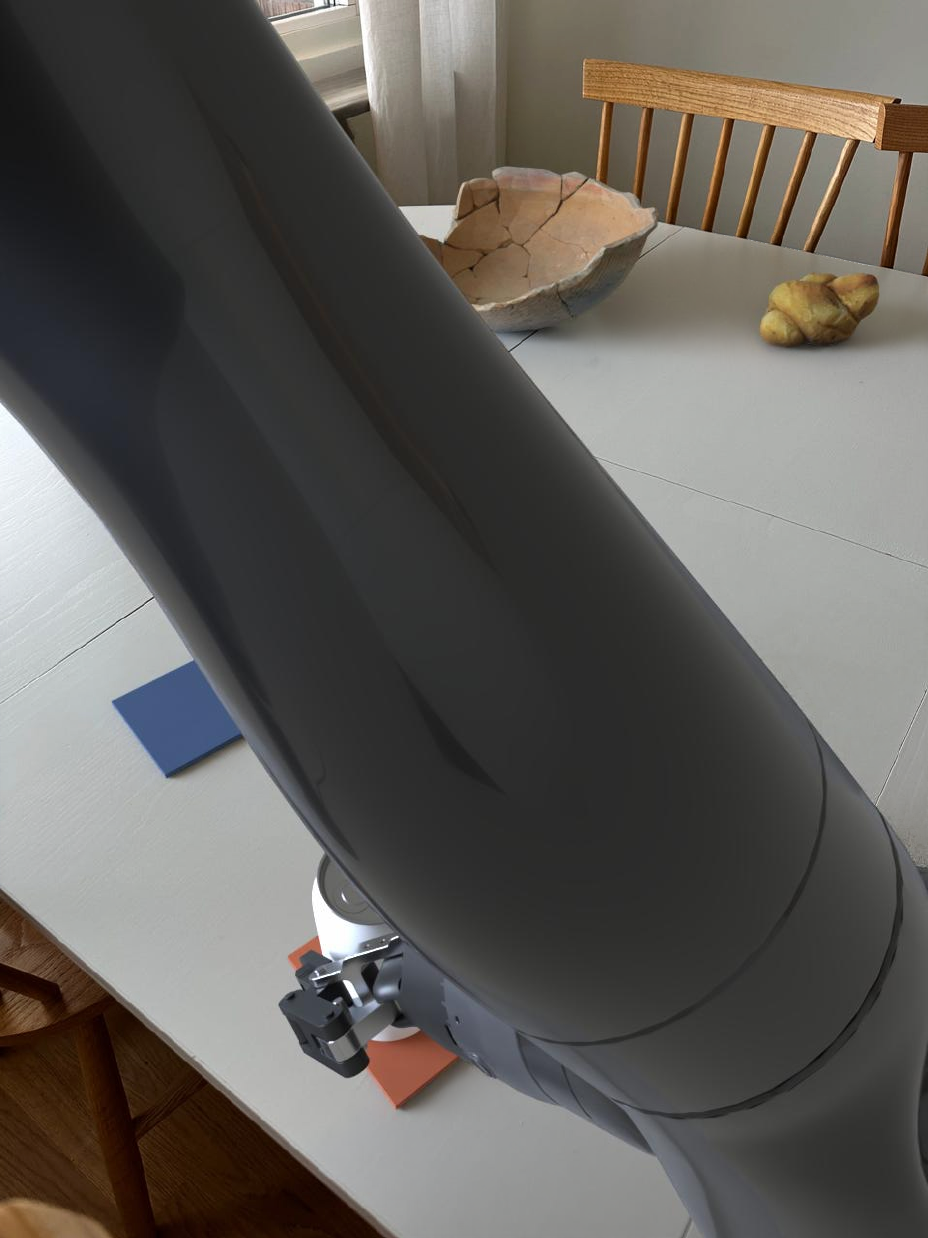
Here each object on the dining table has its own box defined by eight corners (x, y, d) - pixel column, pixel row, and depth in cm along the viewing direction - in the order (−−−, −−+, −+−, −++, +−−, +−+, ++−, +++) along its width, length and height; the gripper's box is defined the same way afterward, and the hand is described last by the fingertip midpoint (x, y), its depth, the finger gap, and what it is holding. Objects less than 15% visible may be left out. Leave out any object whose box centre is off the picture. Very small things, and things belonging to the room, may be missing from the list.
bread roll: (775, 362, 110) (790, 294, 105) (734, 325, 117) (746, 259, 112) (874, 346, 113) (894, 278, 108) (828, 310, 120) (844, 245, 115)
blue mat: (166, 778, 68) (165, 775, 68) (112, 704, 73) (111, 700, 73) (312, 697, 73) (312, 694, 73) (252, 634, 79) (252, 630, 78)
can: (309, 995, 56) (279, 879, 48) (387, 917, 59) (372, 797, 51) (391, 1070, 53) (374, 959, 45) (468, 982, 56) (466, 865, 48)
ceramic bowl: (357, 295, 120) (366, 165, 112) (496, 265, 138) (512, 150, 130) (550, 380, 106) (577, 238, 97) (677, 334, 124) (709, 211, 115)
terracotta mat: (396, 1110, 52) (396, 1107, 51) (287, 959, 58) (286, 956, 58) (550, 984, 57) (550, 981, 56) (434, 858, 63) (434, 855, 63)
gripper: (629, 791, 39) (457, 789, 54) (331, 1008, 33) (226, 939, 47) (709, 953, 40) (518, 908, 54) (432, 1197, 33) (298, 1072, 48)
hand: (382, 922), depth 51 cm, fingers open, 8 cm apart
